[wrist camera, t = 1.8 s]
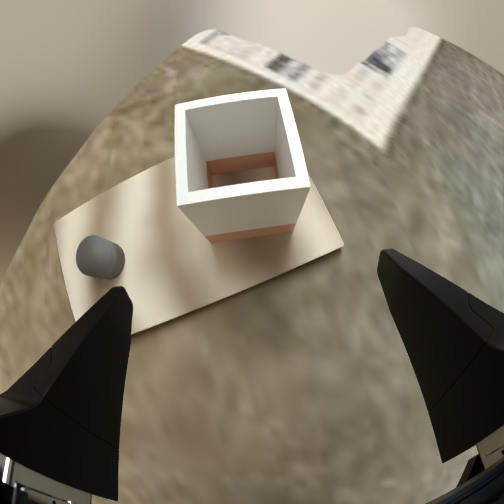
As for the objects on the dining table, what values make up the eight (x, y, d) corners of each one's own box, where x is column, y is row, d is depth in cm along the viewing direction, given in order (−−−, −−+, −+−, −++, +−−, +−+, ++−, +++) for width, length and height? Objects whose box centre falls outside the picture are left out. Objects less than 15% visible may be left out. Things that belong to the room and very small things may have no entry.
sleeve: (279, 159, 23) (285, 88, 14) (292, 232, 22) (310, 186, 13) (204, 170, 23) (175, 104, 14) (210, 243, 22) (176, 205, 13)
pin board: (275, 123, 25) (277, 96, 21) (341, 247, 22) (356, 236, 18) (59, 225, 24) (35, 214, 20) (91, 349, 22) (66, 355, 18)
